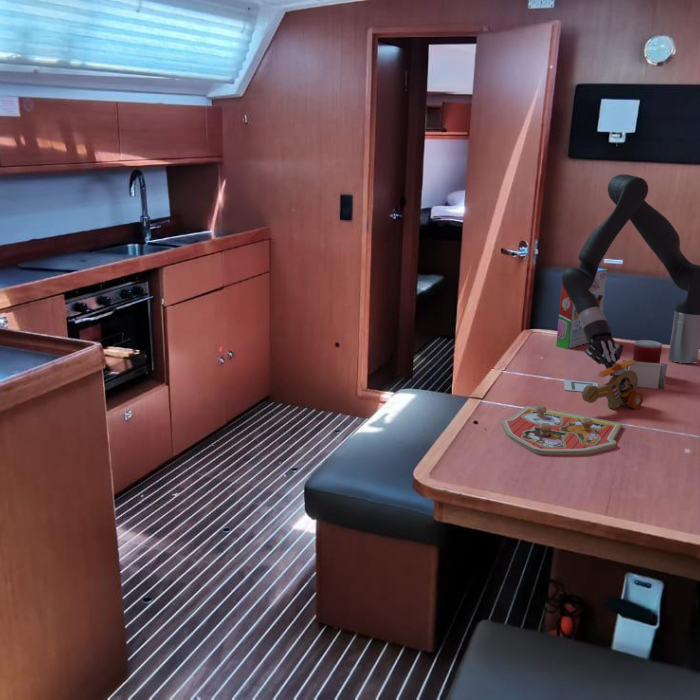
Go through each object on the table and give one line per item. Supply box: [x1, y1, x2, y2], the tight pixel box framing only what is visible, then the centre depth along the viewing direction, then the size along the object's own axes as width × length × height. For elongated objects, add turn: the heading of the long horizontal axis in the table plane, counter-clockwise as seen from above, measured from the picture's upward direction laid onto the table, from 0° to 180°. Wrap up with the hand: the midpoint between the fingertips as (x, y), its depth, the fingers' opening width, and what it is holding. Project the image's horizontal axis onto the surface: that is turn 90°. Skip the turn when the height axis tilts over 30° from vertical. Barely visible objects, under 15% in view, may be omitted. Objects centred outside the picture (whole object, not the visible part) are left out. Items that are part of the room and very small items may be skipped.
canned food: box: [632, 339, 663, 364], centre depth 235 cm, size 8×8×11 cm
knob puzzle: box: [501, 404, 623, 457], centre depth 187 cm, size 29×30×4 cm
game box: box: [555, 267, 608, 350], centre depth 270 cm, size 21×6×27 cm, turn 130°
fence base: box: [622, 359, 668, 390], centre depth 225 cm, size 2×13×8 cm, turn 76°
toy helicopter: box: [581, 359, 644, 410], centre depth 204 cm, size 8×21×14 cm, turn 121°
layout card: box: [563, 379, 599, 393], centre depth 224 cm, size 10×10×1 cm
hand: (614, 374), depth 220 cm, fingers closed
